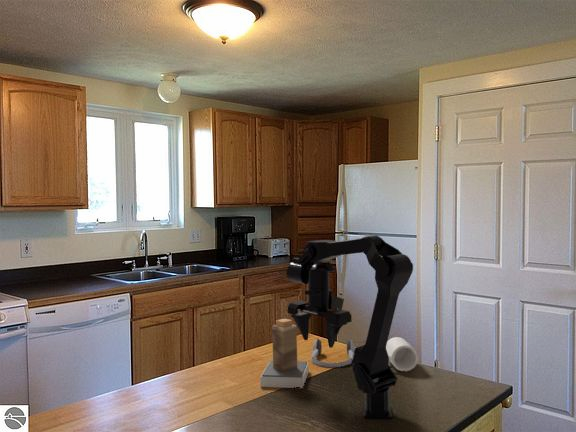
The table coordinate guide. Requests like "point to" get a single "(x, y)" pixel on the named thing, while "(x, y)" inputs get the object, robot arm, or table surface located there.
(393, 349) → the mug
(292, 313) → the robot arm
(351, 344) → the headphones
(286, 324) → the cargo
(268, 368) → the dock
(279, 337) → the tan tall cylinder
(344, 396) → the table surface
